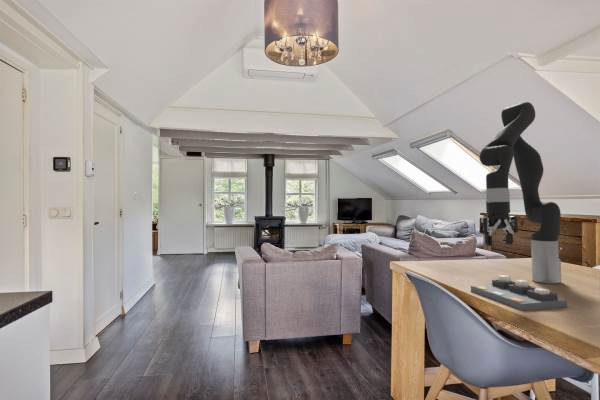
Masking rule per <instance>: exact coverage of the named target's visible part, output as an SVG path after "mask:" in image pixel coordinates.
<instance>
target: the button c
mask: <svg viewBox="0 0 600 400" xmlns="http://www.w3.org/2000/svg"><path fill="white" fill-rule="evenodd" d="M535 292H536V293H540V294H550V292H551V291H550V289H548V288H541V287H536V288H535Z"/></svg>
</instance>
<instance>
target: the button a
mask: <svg viewBox="0 0 600 400" xmlns="http://www.w3.org/2000/svg"><path fill="white" fill-rule="evenodd" d="M511 279H512V278H511V275H506V274H499V275H497V280H498V281H499V282H502V283H510V282H511V281H512V280H511Z"/></svg>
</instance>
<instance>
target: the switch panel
mask: <svg viewBox="0 0 600 400" xmlns="http://www.w3.org/2000/svg"><path fill="white" fill-rule="evenodd" d="M535 288H537V287H536V286H531V285H529V288H519V287H516V286H515V281H514V280H511V282H510V283H502V282H499V281H498V279H491V284H476V285H470V292H472V293H475V294H476V295H477V294H478V295H481V296H483V297H486V298H489V299H491V300H494V301H497V302H499V303H502V304H505V305H507V306H510V307H513V308H515V309H518V310H521V311H533V310H534V311H535V310H544V309H545V310H546V309H558V308H567V307H568V301H567V299H563V298H559V295H558V293H556V292H553V291H550V294H540V293H536V292H535Z"/></svg>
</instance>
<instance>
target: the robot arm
mask: <svg viewBox="0 0 600 400" xmlns="http://www.w3.org/2000/svg"><path fill="white" fill-rule="evenodd" d="M500 116H501V121H502V125H503V128H502V129H500V131H498V133H497V134H496V136H495V137H494V139H493V140H491V141H490V142H489V143H488V144H486V145H485V146H484V147H483V148H482V149H481V151H480V153H479V162H480V163H481V164H482V165H483V166H484V167H494V166H499V167H498V169H496V170H495V171H492V172H489V173H487V174H486V175H485V182H486V183H485V184H486V185H485V187H486V189H485V190H486V192H485V207H486V208H485V210H486V214H487V217H483V216H482V217H481V216H480V218H479V234H481V235H484V241H485V242H484V244H485V245H486V246H487V247H492V246H493V236H492V235H493V233H494V232H495V231H496V230H499V229H501V230H503V231H504V233H506V234H505V244H506V245H509V246H510V245H511V246H512V245H513V243H514V234H515V233H518V232H519V228H518V227H519V226H518V217H517V216H516V215H510V214H511V195H510V190H509V189H510V188H509V173H510V169H511V166H512V162H513V161H514V164H515V165H514V166H515V169H516V172H517V173H516V174H517V176H518V179H519V183H520V188H521V192H522V199H523V207H524V213H525V216H526V218H527V220H528V222H531V223H533V224H537V225H538V224H540V227H539V229H538V230H536V231H533V232H532V233H531V234H530V239H531V240H530V247H531V251H530V252H531V279H532V281H533V282H537V283H542V284H552V285H553V284H559V283H562V260H561V259H560V258H559V257H560V256H559V236H560V233H561V218H562V217H561V216H562V215H561V209H560V207H559V205H558V204H557V203H556V202H553V201H541V199H540V195H539V186H540V184H541V182H542V178H543V176H544V165H543V161H542V157H541V155H540V153H539V151H538V150H536V149H535V148H534V147H533V146H531V144H529V143H528V142H527V141H526V140H524V139H523V137H522V136H521V135H522V134H523V133H524V132H525V130H526V129H528V127H529V126H530V125H532V123H534V120H535V119H536V110H535V107H534V105H533V104H532V103H531V102H529V101H526V102H525V101H523V102H520V103H517V104H514V105H512V106H507V107H505V108H503V109H502V110H501V115H500Z"/></svg>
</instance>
